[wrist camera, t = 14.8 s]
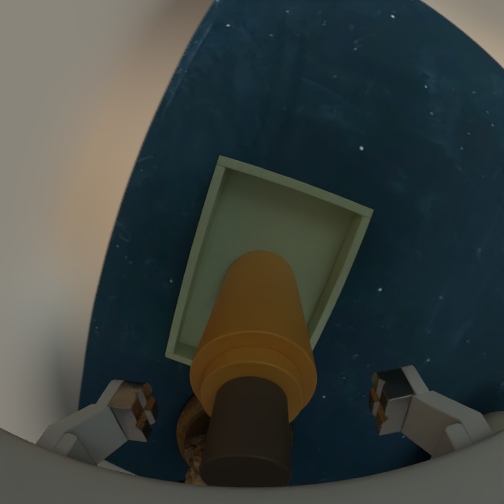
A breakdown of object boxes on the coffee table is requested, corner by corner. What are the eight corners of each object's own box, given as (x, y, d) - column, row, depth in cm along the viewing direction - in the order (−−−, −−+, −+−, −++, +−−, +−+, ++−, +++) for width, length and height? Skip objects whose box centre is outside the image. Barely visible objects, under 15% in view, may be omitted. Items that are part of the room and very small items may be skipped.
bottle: (221, 253, 21) (132, 419, 6) (293, 247, 21) (344, 418, 6) (229, 317, 22) (181, 506, 7) (297, 312, 22) (327, 507, 7)
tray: (224, 156, 20) (219, 155, 18) (363, 205, 20) (374, 210, 18) (172, 341, 24) (164, 356, 22) (288, 377, 24) (289, 394, 22)
